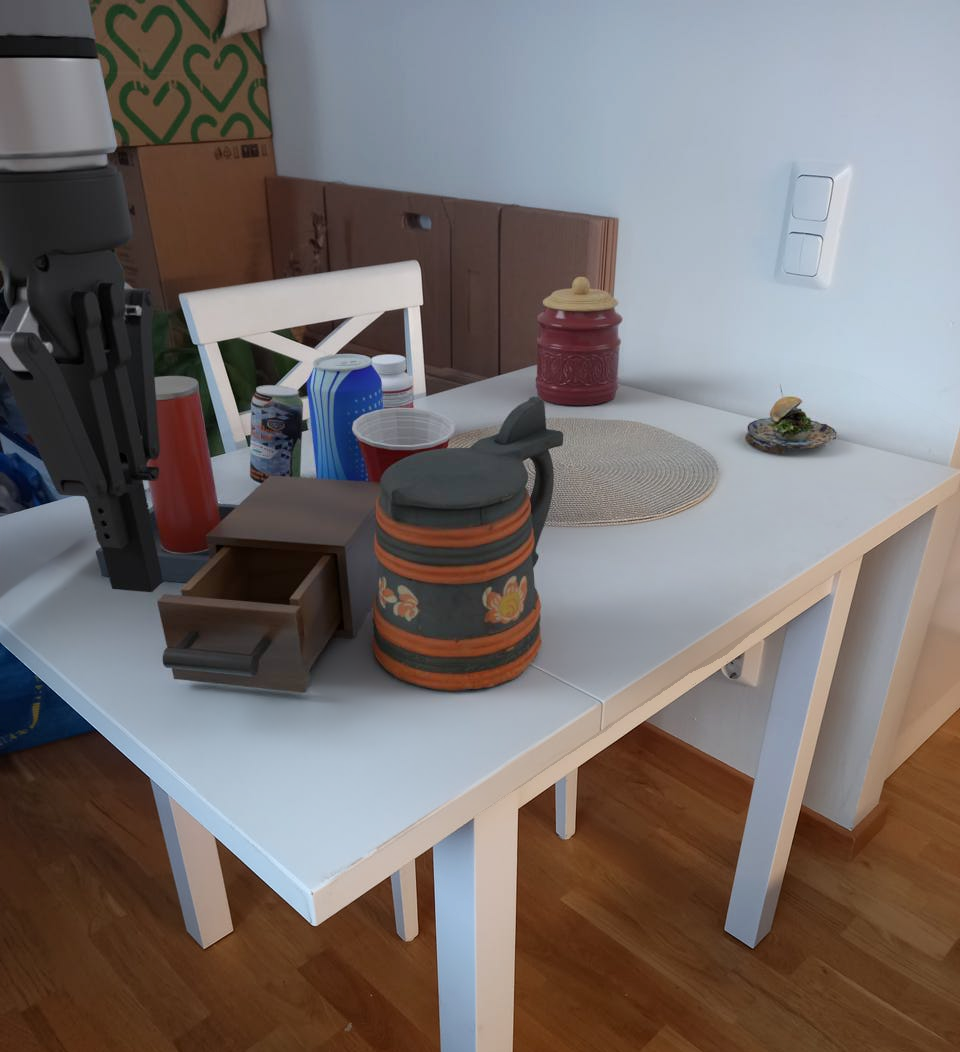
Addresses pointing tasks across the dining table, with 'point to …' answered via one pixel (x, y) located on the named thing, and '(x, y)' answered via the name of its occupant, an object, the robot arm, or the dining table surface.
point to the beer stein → (463, 557)
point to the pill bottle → (394, 381)
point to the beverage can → (275, 432)
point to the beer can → (341, 412)
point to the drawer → (253, 618)
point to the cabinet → (313, 532)
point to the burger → (788, 429)
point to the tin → (182, 469)
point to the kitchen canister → (578, 346)
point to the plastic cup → (399, 436)
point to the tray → (173, 564)
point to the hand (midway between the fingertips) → (137, 585)
